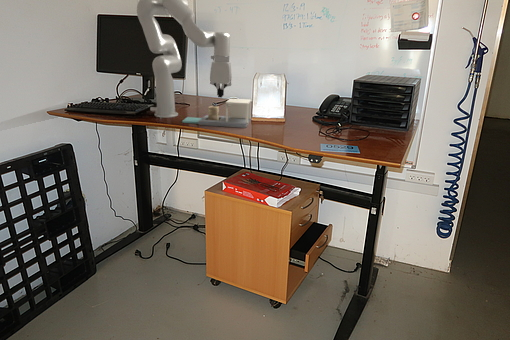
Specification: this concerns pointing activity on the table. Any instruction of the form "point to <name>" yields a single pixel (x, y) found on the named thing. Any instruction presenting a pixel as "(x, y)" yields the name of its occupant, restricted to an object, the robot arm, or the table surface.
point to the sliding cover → (239, 108)
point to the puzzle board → (222, 122)
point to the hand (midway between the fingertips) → (220, 96)
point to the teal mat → (191, 120)
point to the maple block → (213, 113)
